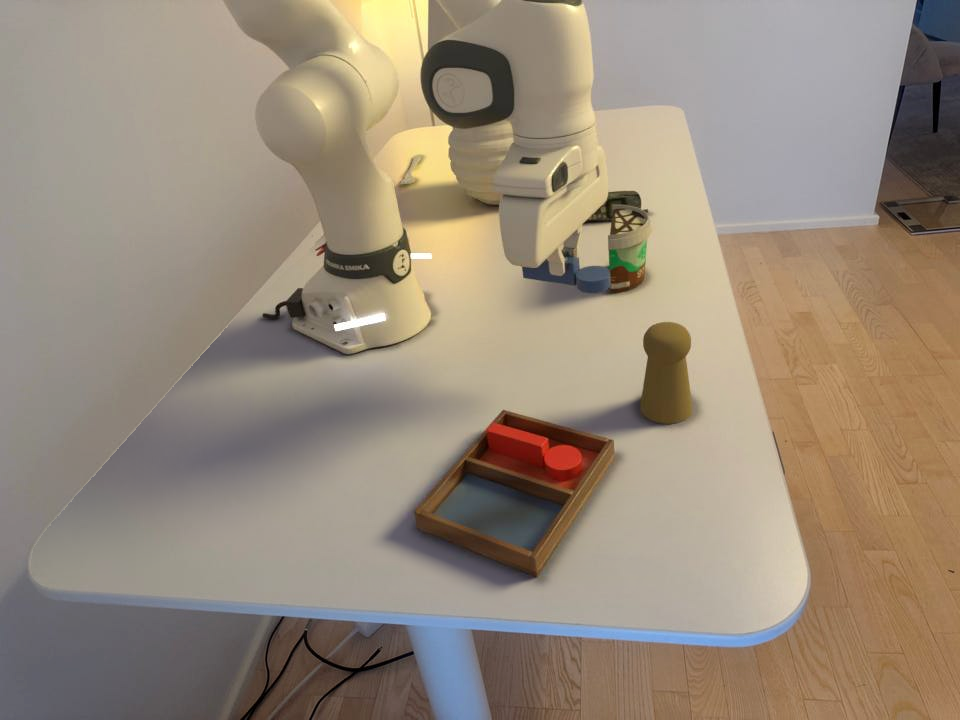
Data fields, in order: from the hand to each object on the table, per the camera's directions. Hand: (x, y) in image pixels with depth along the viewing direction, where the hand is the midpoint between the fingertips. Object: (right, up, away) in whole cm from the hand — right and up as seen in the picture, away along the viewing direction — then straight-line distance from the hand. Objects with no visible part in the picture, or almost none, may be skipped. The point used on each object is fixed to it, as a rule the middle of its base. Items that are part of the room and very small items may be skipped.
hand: (564, 267), depth 85 cm
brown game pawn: (+12, -17, 0) cm, 21 cm away
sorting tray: (-6, -25, -9) cm, 27 cm away
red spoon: (-4, -22, -6) cm, 23 cm away
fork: (-26, +33, +84) cm, 94 cm away
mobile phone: (+13, +15, +47) cm, 51 cm away
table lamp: (-5, +23, +64) cm, 68 cm away
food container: (+14, +2, +27) cm, 31 cm away
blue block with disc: (0, -2, +1) cm, 2 cm away
